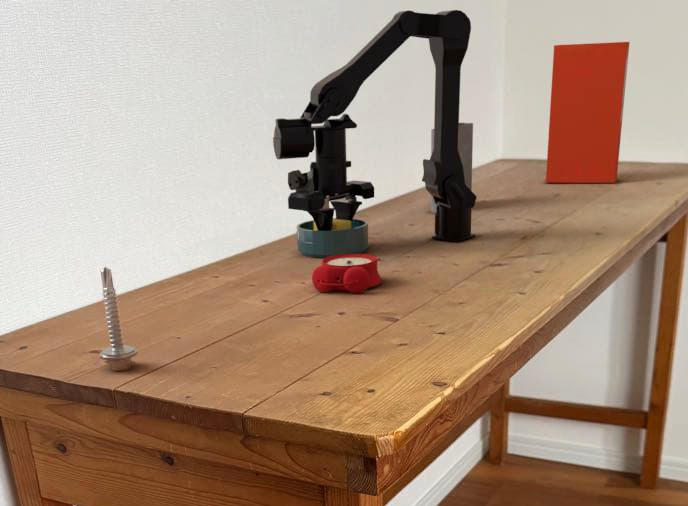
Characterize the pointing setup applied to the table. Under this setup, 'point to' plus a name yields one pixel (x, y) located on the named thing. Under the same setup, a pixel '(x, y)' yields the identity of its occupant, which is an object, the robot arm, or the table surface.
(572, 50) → the file binder
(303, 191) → the robot arm
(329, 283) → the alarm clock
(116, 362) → the screw
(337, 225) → the sponge
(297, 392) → the table surface
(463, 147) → the hip flask
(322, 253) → the bowl
